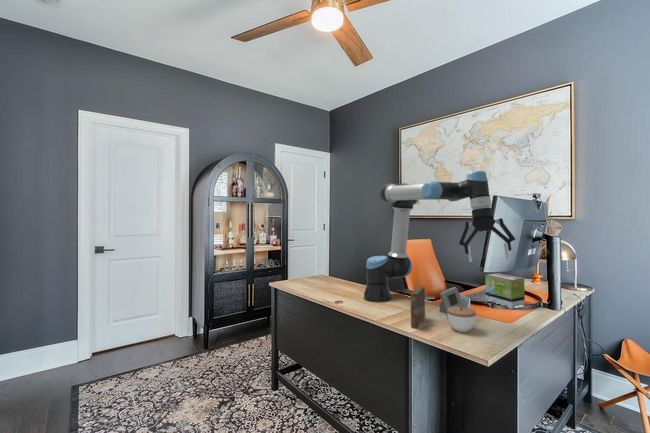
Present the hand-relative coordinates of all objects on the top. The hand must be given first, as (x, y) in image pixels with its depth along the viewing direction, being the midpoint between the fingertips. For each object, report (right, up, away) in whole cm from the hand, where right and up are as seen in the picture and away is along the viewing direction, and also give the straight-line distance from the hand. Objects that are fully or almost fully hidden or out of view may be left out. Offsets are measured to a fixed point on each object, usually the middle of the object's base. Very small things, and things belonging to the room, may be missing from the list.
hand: (489, 260), depth 124 cm
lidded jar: (-11, -28, +1) cm, 30 cm away
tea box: (+26, -28, +35) cm, 52 cm away
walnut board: (-25, -28, +10) cm, 39 cm away
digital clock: (-5, -28, +24) cm, 37 cm away
